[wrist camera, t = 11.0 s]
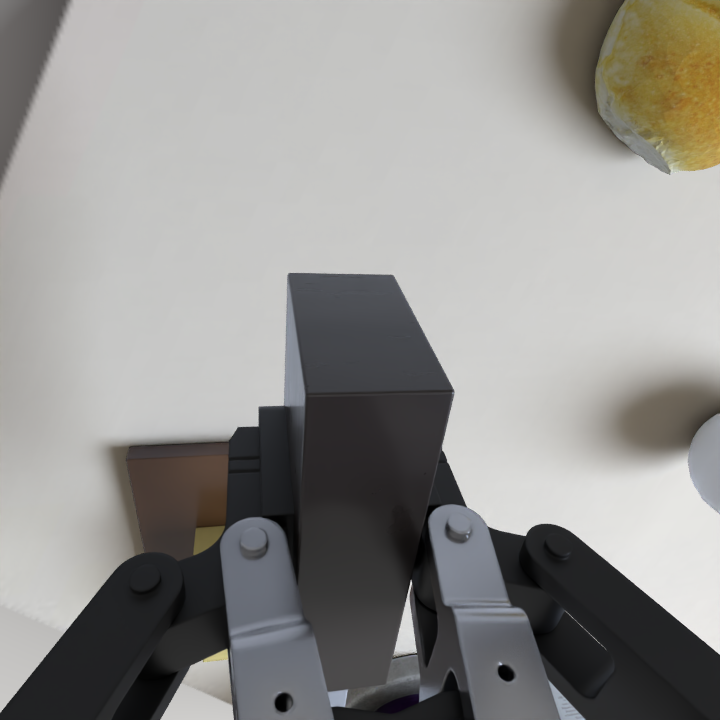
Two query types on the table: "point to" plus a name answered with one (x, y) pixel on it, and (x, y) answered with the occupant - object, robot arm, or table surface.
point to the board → (178, 493)
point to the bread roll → (663, 82)
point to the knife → (358, 463)
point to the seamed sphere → (706, 462)
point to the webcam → (390, 689)
